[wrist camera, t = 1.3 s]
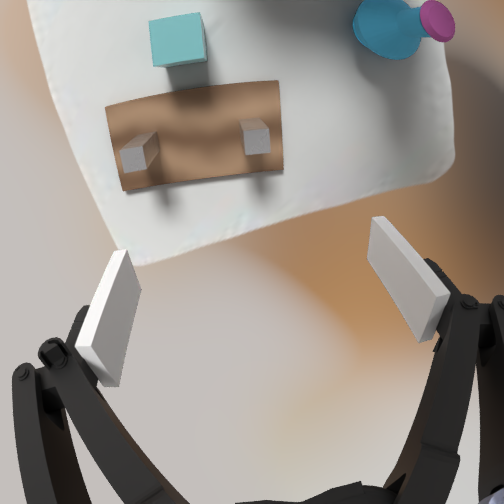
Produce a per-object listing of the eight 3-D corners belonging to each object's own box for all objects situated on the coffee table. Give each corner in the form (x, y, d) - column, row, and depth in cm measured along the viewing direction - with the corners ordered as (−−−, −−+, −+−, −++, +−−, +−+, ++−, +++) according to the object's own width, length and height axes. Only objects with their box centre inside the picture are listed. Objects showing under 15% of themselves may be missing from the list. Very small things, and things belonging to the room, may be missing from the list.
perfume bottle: (366, 69, 34) (432, 77, 22) (330, 13, 30) (386, -9, 17) (412, 45, 32) (484, 48, 20) (381, -9, 28) (447, -28, 15)
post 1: (137, 135, 36) (119, 150, 29) (156, 131, 36) (142, 145, 29) (140, 154, 37) (124, 173, 31) (159, 150, 37) (146, 169, 31)
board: (107, 106, 34) (104, 107, 33) (277, 80, 35) (278, 80, 34) (124, 188, 40) (122, 191, 40) (282, 167, 41) (283, 169, 40)
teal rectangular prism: (161, 30, 30) (148, 21, 23) (203, 23, 30) (199, 12, 23) (165, 67, 32) (153, 66, 26) (207, 60, 33) (204, 57, 26)
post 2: (238, 119, 36) (243, 130, 30) (259, 117, 36) (269, 128, 30) (240, 139, 38) (245, 155, 31) (260, 137, 38) (270, 152, 31)
